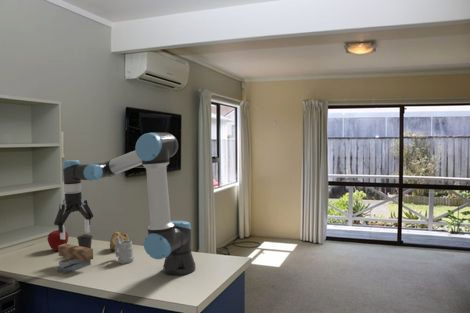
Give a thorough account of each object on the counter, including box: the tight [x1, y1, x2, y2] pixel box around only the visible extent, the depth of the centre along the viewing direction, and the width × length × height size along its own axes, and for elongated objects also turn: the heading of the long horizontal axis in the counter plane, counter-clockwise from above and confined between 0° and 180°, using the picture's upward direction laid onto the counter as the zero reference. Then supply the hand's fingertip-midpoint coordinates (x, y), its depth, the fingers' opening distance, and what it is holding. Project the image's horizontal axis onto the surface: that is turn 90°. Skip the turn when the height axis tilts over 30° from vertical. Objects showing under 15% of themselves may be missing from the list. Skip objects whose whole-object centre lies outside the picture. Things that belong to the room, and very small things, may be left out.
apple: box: [47, 229, 69, 252], centre depth 216 cm, size 11×11×12 cm
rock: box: [109, 231, 130, 251], centre depth 216 cm, size 12×10×10 cm
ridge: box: [57, 257, 92, 274], centre depth 186 cm, size 6×14×5 cm, turn 149°
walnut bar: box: [57, 243, 94, 261], centre depth 187 cm, size 20×4×5 cm, turn 61°
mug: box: [114, 236, 135, 264], centre depth 196 cm, size 8×12×12 cm, turn 57°
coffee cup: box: [76, 234, 93, 248], centre depth 209 cm, size 8×8×10 cm
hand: (75, 235), depth 186 cm, fingers open, 13 cm apart
